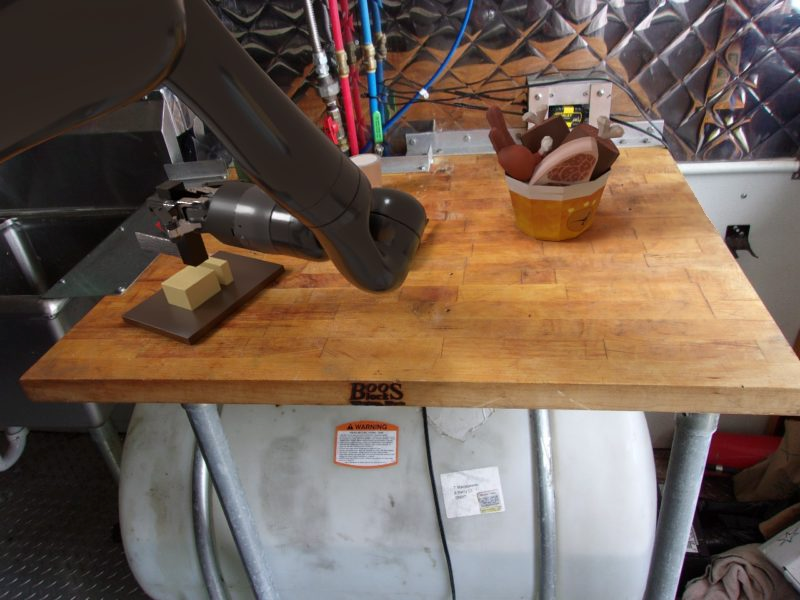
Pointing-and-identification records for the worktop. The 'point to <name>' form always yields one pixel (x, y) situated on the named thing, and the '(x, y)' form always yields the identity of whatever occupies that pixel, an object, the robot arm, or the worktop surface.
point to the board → (202, 319)
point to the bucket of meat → (554, 171)
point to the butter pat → (219, 269)
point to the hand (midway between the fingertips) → (160, 200)
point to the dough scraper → (191, 242)
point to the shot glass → (370, 167)
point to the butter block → (191, 287)
